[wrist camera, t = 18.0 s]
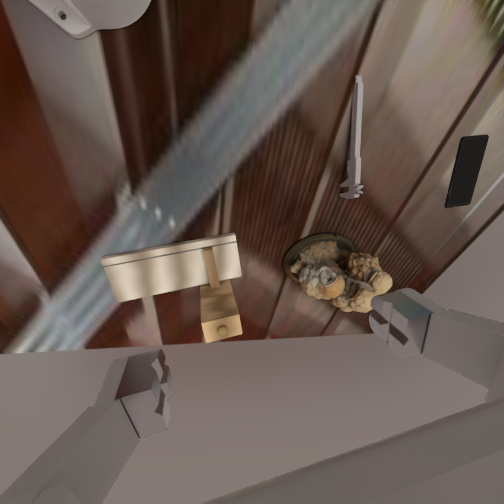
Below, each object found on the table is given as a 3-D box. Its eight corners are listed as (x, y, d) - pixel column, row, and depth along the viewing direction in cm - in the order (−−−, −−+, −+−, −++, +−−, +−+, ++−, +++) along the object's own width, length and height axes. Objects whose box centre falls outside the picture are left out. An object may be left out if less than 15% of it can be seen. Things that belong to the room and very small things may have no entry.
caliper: (342, 195, 49) (362, 200, 43) (338, 196, 48) (357, 201, 43) (359, 76, 41) (386, 63, 35) (353, 76, 41) (379, 62, 35)
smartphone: (445, 208, 55) (462, 136, 49) (442, 207, 55) (458, 137, 50) (470, 204, 56) (490, 134, 50) (466, 204, 57) (485, 134, 51)
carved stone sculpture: (357, 224, 52) (427, 254, 36) (354, 271, 56) (415, 315, 41) (279, 240, 49) (319, 279, 33) (283, 288, 54) (319, 342, 38)
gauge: (203, 299, 50) (206, 347, 37) (191, 247, 45) (189, 282, 33) (231, 293, 51) (243, 338, 38) (222, 241, 46) (232, 273, 34)
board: (120, 298, 46) (117, 302, 44) (103, 256, 42) (99, 259, 41) (240, 272, 50) (241, 276, 48) (234, 232, 46) (235, 234, 45)
